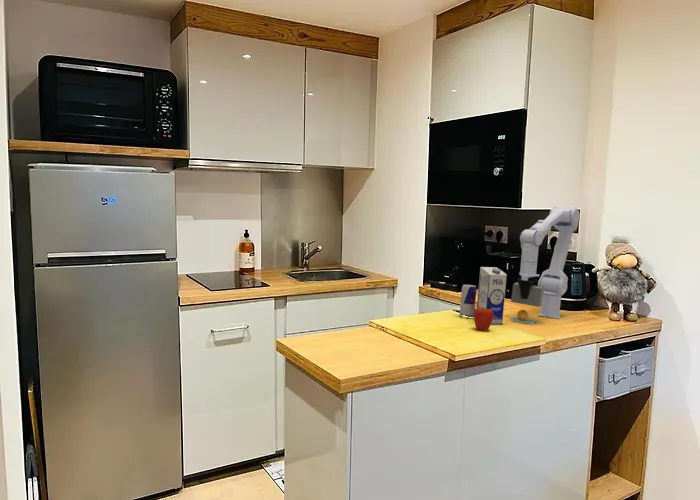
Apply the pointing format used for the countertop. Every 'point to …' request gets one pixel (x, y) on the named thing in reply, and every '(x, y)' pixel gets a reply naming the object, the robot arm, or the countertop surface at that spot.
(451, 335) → the countertop surface
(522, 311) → the ball
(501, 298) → the milk carton
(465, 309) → the energy drink
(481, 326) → the apple
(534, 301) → the grey rectangular box
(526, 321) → the tape square
